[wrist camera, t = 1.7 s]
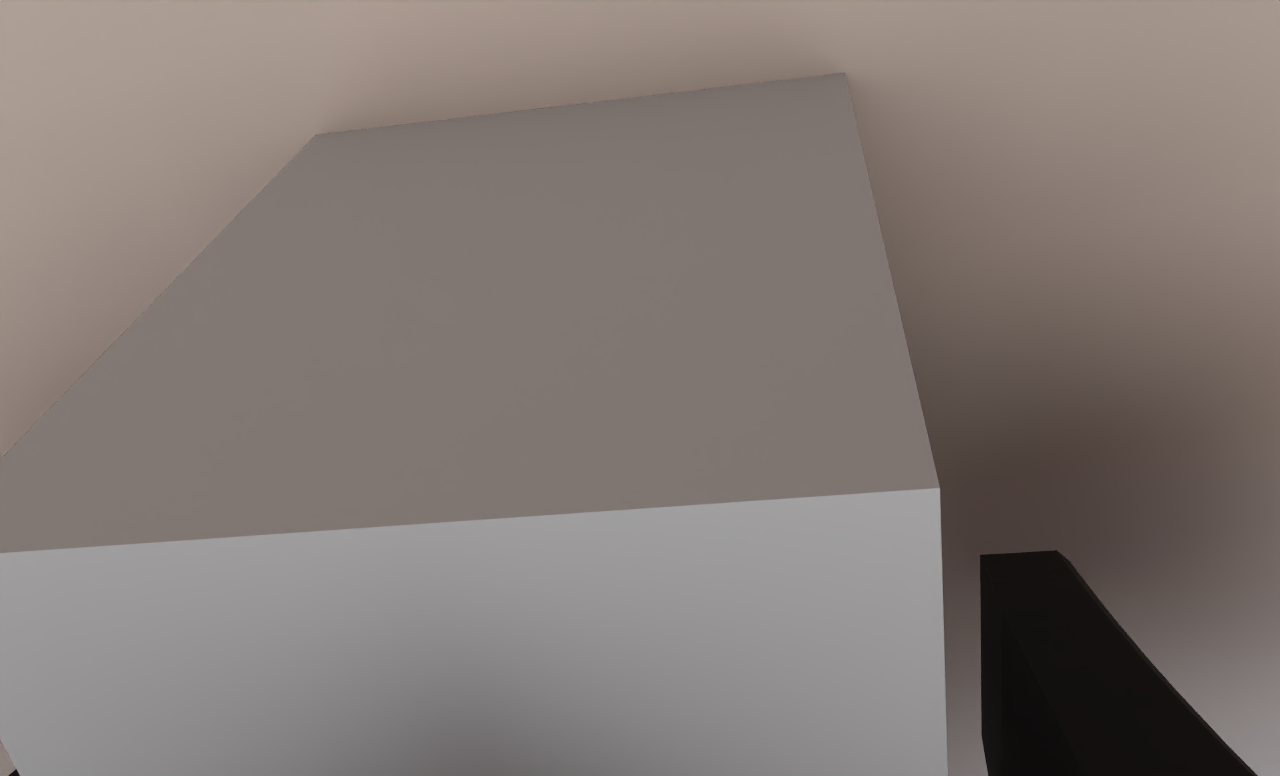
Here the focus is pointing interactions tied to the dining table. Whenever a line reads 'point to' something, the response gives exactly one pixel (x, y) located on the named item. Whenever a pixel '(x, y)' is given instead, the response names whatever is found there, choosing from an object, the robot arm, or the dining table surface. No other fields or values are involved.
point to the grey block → (499, 470)
